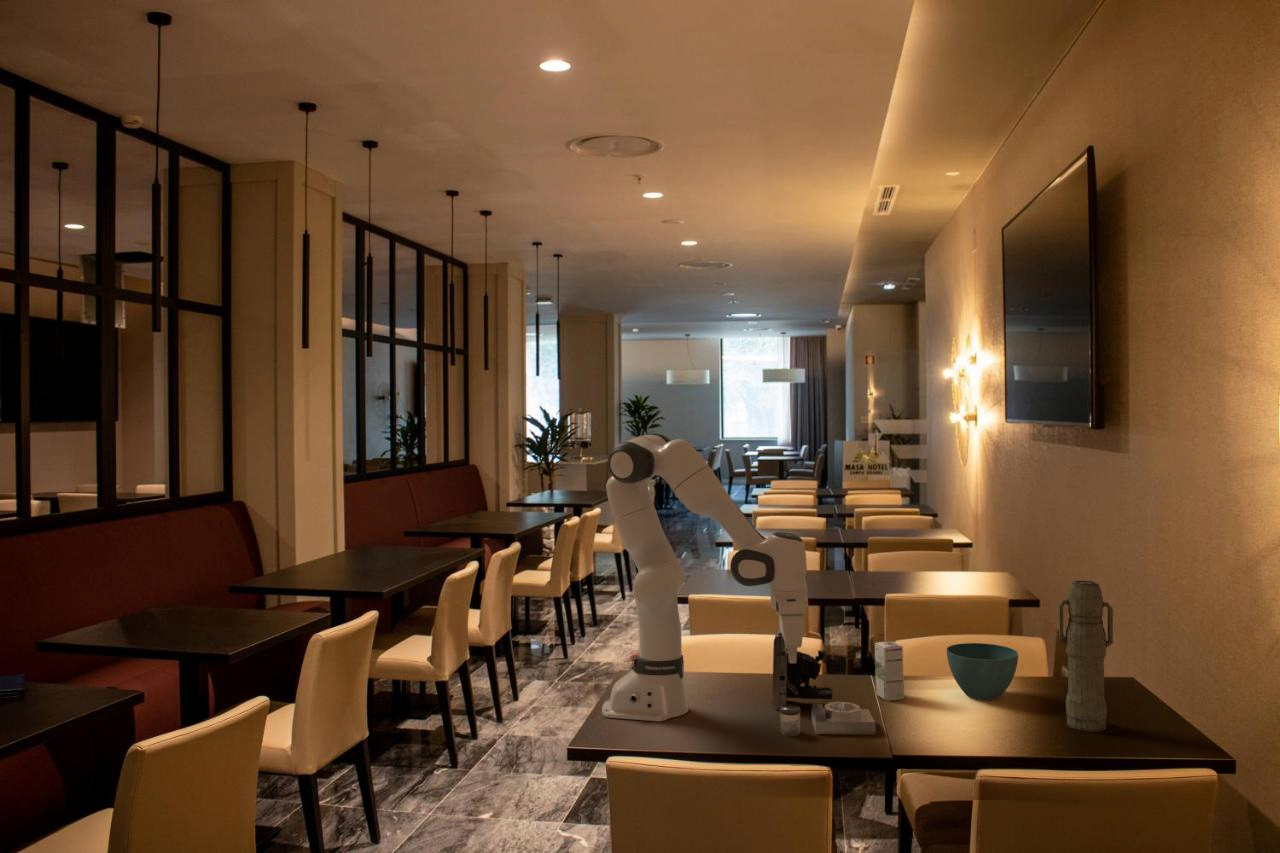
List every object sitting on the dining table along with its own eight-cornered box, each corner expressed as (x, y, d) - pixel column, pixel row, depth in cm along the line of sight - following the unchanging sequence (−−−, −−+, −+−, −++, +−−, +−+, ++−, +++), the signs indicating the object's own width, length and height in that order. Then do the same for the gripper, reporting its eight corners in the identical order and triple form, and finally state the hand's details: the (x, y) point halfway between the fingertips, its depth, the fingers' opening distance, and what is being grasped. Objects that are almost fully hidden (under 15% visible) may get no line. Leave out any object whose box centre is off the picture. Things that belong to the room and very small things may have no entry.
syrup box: (904, 699, 252) (904, 645, 252) (884, 701, 251) (884, 646, 251) (894, 693, 258) (893, 640, 258) (874, 695, 257) (873, 641, 256)
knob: (781, 735, 225) (780, 710, 225) (779, 729, 230) (779, 704, 230) (801, 736, 225) (801, 711, 225) (799, 729, 230) (799, 704, 230)
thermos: (1117, 733, 224) (1116, 586, 223) (1064, 730, 227) (1063, 584, 226) (1108, 721, 232) (1107, 579, 232) (1056, 718, 235) (1055, 578, 235)
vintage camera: (832, 715, 242) (834, 637, 242) (771, 709, 245) (773, 633, 245) (832, 704, 251) (834, 629, 251) (773, 699, 254) (775, 625, 254)
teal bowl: (954, 705, 247) (954, 658, 247) (940, 685, 265) (940, 641, 265) (1027, 707, 245) (1026, 660, 244) (1008, 686, 263) (1007, 642, 262)
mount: (816, 734, 226) (815, 713, 226) (811, 720, 236) (811, 700, 236) (875, 734, 225) (875, 713, 225) (868, 721, 235) (868, 701, 235)
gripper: (772, 592, 238) (774, 647, 238) (779, 609, 218) (780, 668, 218) (798, 592, 238) (799, 646, 238) (806, 608, 217) (808, 668, 217)
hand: (790, 657), depth 228 cm, fingers open, 8 cm apart
